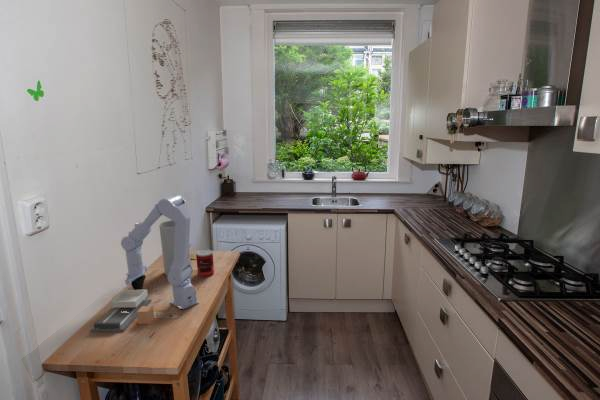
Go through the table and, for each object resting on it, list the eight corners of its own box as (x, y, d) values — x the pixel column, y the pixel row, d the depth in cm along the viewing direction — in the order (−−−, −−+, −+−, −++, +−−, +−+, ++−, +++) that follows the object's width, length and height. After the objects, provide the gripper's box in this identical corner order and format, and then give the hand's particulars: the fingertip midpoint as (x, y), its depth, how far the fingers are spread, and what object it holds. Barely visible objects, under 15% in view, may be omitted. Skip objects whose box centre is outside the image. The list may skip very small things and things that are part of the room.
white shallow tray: (124, 298, 152) (123, 289, 151) (148, 297, 151) (147, 289, 150) (111, 310, 142) (110, 301, 141) (136, 310, 141) (135, 301, 141)
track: (122, 301, 152) (121, 294, 151) (151, 301, 152) (150, 294, 151) (90, 331, 131) (89, 324, 130) (123, 331, 130) (122, 323, 129)
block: (143, 318, 139) (142, 306, 138) (154, 318, 139) (152, 306, 137) (138, 324, 135) (137, 311, 134) (149, 324, 135) (147, 311, 134)
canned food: (207, 269, 183) (205, 248, 181) (217, 273, 178) (215, 251, 176) (194, 274, 177) (192, 252, 175) (204, 278, 172) (202, 256, 170)
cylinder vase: (160, 278, 174) (154, 227, 169) (170, 267, 186) (165, 220, 181) (186, 277, 174) (181, 226, 168) (195, 267, 186) (190, 219, 180)
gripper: (134, 256, 158) (138, 285, 161) (115, 270, 144) (120, 301, 147) (150, 256, 158) (153, 285, 161) (133, 269, 143) (137, 301, 146)
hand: (139, 293), depth 154 cm, fingers closed
